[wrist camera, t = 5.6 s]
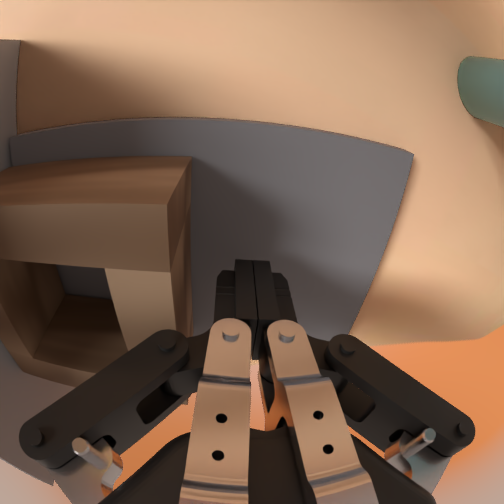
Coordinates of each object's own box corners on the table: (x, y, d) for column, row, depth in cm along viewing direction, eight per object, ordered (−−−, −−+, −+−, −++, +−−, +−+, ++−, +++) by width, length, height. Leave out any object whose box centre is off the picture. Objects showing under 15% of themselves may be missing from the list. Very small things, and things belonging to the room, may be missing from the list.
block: (8, 167, 9) (-56, 210, 5) (191, 156, 11) (166, 204, 6) (51, 313, 15) (23, 372, 10) (193, 330, 16) (187, 404, 12)
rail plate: (20, 133, 10) (9, 138, 9) (403, 149, 12) (414, 154, 11) (65, 317, 16) (60, 327, 16) (340, 331, 19) (344, 341, 18)
